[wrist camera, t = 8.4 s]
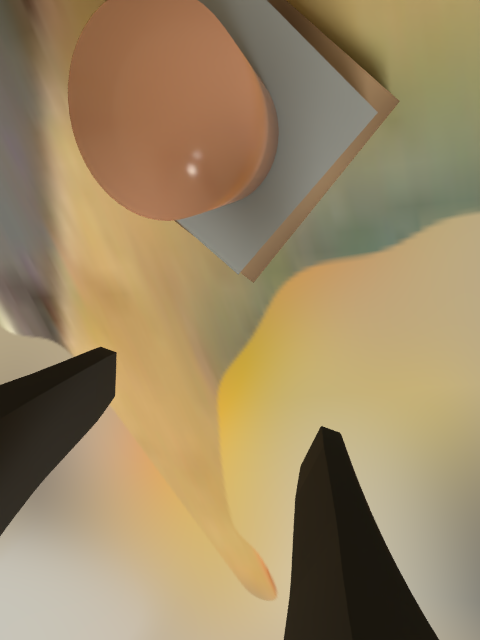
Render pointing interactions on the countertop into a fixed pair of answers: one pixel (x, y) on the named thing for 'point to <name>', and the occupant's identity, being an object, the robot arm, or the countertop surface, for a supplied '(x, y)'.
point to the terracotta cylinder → (169, 109)
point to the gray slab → (281, 128)
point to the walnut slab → (384, 106)
